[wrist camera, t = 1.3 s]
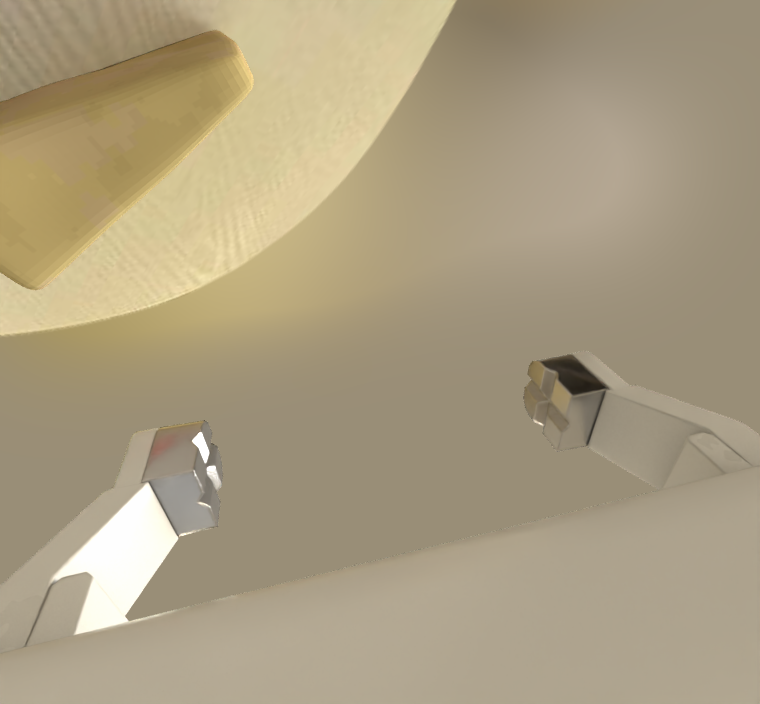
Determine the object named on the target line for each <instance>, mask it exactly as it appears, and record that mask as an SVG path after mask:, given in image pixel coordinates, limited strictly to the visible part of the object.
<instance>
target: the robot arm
mask: <svg viewBox="0 0 760 704" xmlns="http://www.w3.org/2000/svg"><path fill="white" fill-rule="evenodd" d="M528 376H529V377H530V379H531V381H530V382H529V383H528V385H527V386H526V387H525V390H524V396H523V399H524V404H525V408H526V411H527V413H528V415H529V416H530V417H531V419H532V420H533V421H534V422H536V423H538V424H540V425H542V426H543V435H544V436H545V437H546V438H547V440H548V441H549V442H550V443H551V445H552V446H553V447H554V449H555V450H556V451H557V452H558V451H563V450H569V449H574V448H578V447H584V446H588V448H589V449H591V450H593V451H594V452H596V453H598V454H599V455H601V456H603V457H604V458H606V459H608V460H609V461H611V462H613V463H614V464H616V465H618V466H619V467H621V468H623V469H625V470H626V471H628V472H630V473H631V474H633V475H635V476H636V477H638V478H640V479H641V480H643V481H645V482H646V483H648V484H650V485H652V486H653V487H655V488H657V489H658V491H653V492H649V493H645V494H641V495H637V496H633V497H629V498H626V499H621V500H617V501H613V502H609V503H605V504H601V505H597V506H593V507H589V508H585V509H581V510H577V511H573V512H569V513H565V514H560V515H557V516H552V517H548V518H544V519H541V520H537V521H533V522H528V523H524V524H520V525H516V526H512V527H508V528H505V529H500V530H496V531H492V532H488V533H484V534H480V535H476V536H472V537H468V538H464V539H460V540H456V541H452V542H447V543H443V544H440V545H436V546H431V547H427V548H423V549H419V550H415V551H411V552H407V553H403V554H399V555H395V556H391V557H387V558H383V559H379V560H375V561H370V562H366V563H362V564H358V565H354V566H351V567H346V568H342V569H338V570H334V571H330V572H326V573H322V574H318V575H314V576H310V577H306V578H302V579H298V580H294V581H290V582H286V583H282V584H278V585H273V586H269V587H266V588H262V589H258V590H253V591H249V592H246V593H242V594H237V595H233V596H229V597H225V598H221V599H217V600H213V601H209V602H205V603H201V604H197V605H193V606H189V607H185V608H181V609H177V610H172V611H169V612H165V613H160V614H156V615H152V616H149V617H144V618H140V619H137V620H133V621H128V620H127V619H126V617H125V615H126V614H127V612H128V611H129V609H130V608H131V606H132V605H133V603H134V602H135V601H136V599H137V598H138V596H139V595H140V593H141V592H142V590H143V589H144V587H145V586H146V585H147V583H148V582H149V580H150V579H151V577H152V576H153V574H154V573H155V572H156V570H157V569H158V567H159V566H160V564H161V563H162V561H163V560H164V558H165V557H166V556H167V554H168V553H169V551H170V550H171V548H172V547H173V546H174V544H175V543H176V541H177V540H178V536H182V535H185V534H190V533H194V532H198V531H202V530H205V529H210V528H214V527H218V519H219V510H220V499H219V497H218V494H217V491H218V490H219V489H220V487H221V486H222V479H223V471H222V461H221V457H220V453H219V450H218V447H217V446H216V445H214V444H212V443H211V438H212V431H211V429H210V426H209V424H208V422H207V421H205V420H204V421H197V422H192V423H185V424H179V425H172V426H166V427H160V428H156V429H149V430H143V431H137V432H136V433H134V434H133V435H132V437H131V439H130V442H129V445H128V447H127V450H126V453H125V456H124V458H123V461H122V464H121V467H120V469H119V472H118V475H117V478H116V480H115V483H114V486H113V489H110V490H105V491H104V492H103V493H102V494H101V495H100V496H98V497H97V498H96V499H95V500H94V501H93V502H92V503H91V504H90V505H89V506H87V507H86V508H85V509H84V510H83V511H82V512H81V513H80V514H79V515H77V517H75V518H74V519H73V520H72V521H71V522H70V523H69V524H68V525H66V526H65V527H64V528H63V529H62V530H61V531H60V532H59V533H58V534H57V535H55V536H54V537H53V538H52V539H51V540H50V541H49V542H48V543H47V544H45V545H44V546H43V547H42V548H41V549H40V550H39V551H38V552H37V553H36V554H34V555H33V557H31V558H30V559H29V560H28V561H27V562H26V563H25V564H23V565H22V566H21V567H20V568H19V569H18V570H17V571H16V572H15V573H14V574H12V575H11V576H10V577H9V578H8V579H7V580H6V581H5V582H3V583H2V584H1V585H0V704H760V435H759V434H757V433H756V432H755V431H753V430H752V429H751V428H749V427H748V426H747V425H745V424H744V423H742V422H740V421H737V420H734V419H731V418H729V417H725V416H723V415H720V414H717V413H714V412H711V411H708V410H706V409H703V408H700V407H697V406H694V405H691V404H688V403H686V402H683V401H680V400H677V399H674V398H671V397H668V396H665V395H663V394H660V393H657V392H654V391H651V390H648V389H645V388H642V387H640V386H637V385H633V386H630V385H628V384H627V383H626V382H625V381H624V380H622V379H621V378H620V377H619V376H618V375H617V374H615V373H614V372H613V371H612V370H611V369H610V368H608V367H607V366H606V365H605V364H604V363H602V362H601V361H600V360H599V359H598V358H597V357H595V356H594V355H593V354H592V353H590V352H588V351H581V352H576V353H571V354H567V355H563V356H559V357H553V358H548V359H542V360H537V361H532V363H531V364H530V365H529V369H528Z"/></svg>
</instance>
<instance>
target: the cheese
mask: <svg viewBox="0 0 760 704" xmlns="http://www.w3.org/2000/svg"><path fill="white" fill-rule="evenodd" d="M253 83H254V80H253V76H252V74H251V72H250V69H249V67H248V65H247V62H246V60H245V58H244V56H243V54H242V52H241V51H240V49H239V47H238V45H237V44H236V43H235V42H234V41H233V40H232V39H230V38H229V37H227V36H226V35H224V34H223V33H222V32H220V31H217V30H213V31H209V32H205V33H202V34H200V35H197V36H194V37H191V38H189V39H186V40H183V41H180V42H178V43H175V44H172V45H169V46H166V47H164V48H161V49H158V50H155V51H152V52H150V53H147V54H144V55H141V56H138V57H136V58H133V59H130V60H127V61H125V62H122V63H119V64H117V65H114V66H111V67H108V68H106V69H103V70H99V71H95V72H91V73H88V74H84V75H80V76H76V77H72V78H69V79H65V80H62V81H59V82H55V83H52V84H49V85H46V86H43V87H40V88H37V89H35V90H32V91H29V92H27V93H24V94H22V95H19V96H17V97H14V98H11V99H9V100H5V101H2V102H0V272H1V273H2V274H4V275H5V276H7V277H8V278H10V279H11V280H13V281H14V282H16V283H18V284H19V285H21V286H23V287H26V288H28V289H32V290H39V289H42V288H44V287H46V286H47V285H48V284H49V283H51V282H52V281H53V280H54V279H55V278H56V277H57V276H58V275H59V274H60V273H61V272H62V271H63V270H64V269H65V268H66V267H67V266H69V265H70V264H71V263H72V262H73V261H74V260H75V259H76V258H77V257H78V256H79V255H80V254H81V253H82V252H83V251H84V250H85V249H87V248H88V247H89V246H90V245H91V244H92V243H93V242H94V241H95V240H96V239H97V238H98V237H99V236H101V235H102V234H103V233H104V232H105V231H106V230H107V229H108V228H109V227H110V226H111V225H113V224H114V223H115V222H116V221H117V220H118V219H119V218H120V217H121V216H122V215H124V214H125V213H126V212H127V211H128V210H129V209H130V208H131V207H132V206H134V205H135V204H136V203H137V202H138V201H139V200H140V199H141V198H143V197H144V196H145V195H146V194H147V193H148V192H149V191H151V190H152V189H153V188H154V187H155V186H156V185H157V184H158V183H159V182H161V181H162V180H163V179H164V178H165V177H166V176H167V175H168V174H169V173H170V172H171V171H172V170H173V169H175V168H176V167H177V166H178V165H179V164H180V163H181V162H182V161H183V160H184V159H185V158H186V157H187V156H188V155H189V154H190V153H191V152H192V151H193V150H194V149H195V148H196V147H197V146H198V145H199V144H200V143H201V142H202V141H203V140H204V139H205V138H206V137H207V136H208V135H209V134H210V132H211V131H212V130H213V129H214V128H215V127H216V126H217V125H218V124H219V123H220V122H221V121H222V120H223V119H224V118H225V117H226V116H227V115H228V114H229V113H230V112H231V111H232V110H233V109H234V108H235V107H236V106H237V105H238V104H239V103H240V102H241V101H242V100H243V99H244V98H245V97H246V96H247V95H248V93H249V92H250V91H251V89H252V86H253Z"/></svg>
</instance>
